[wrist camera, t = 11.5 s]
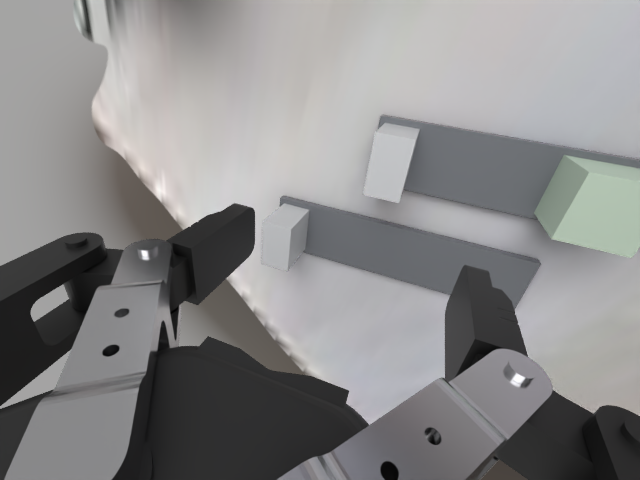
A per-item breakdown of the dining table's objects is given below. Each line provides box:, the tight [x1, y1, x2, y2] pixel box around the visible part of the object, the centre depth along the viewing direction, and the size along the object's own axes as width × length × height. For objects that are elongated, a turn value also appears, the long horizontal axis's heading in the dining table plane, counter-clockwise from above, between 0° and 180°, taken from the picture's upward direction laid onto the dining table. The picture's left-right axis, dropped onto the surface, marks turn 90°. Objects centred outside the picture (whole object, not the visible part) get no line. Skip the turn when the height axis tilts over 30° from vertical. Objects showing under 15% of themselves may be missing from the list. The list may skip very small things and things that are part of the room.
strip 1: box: [261, 196, 541, 310], centre depth 31 cm, size 26×6×6 cm, turn 83°
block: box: [534, 155, 640, 258], centre depth 23 cm, size 5×5×5 cm
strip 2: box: [363, 115, 640, 220], centre depth 24 cm, size 26×6×6 cm, turn 83°
